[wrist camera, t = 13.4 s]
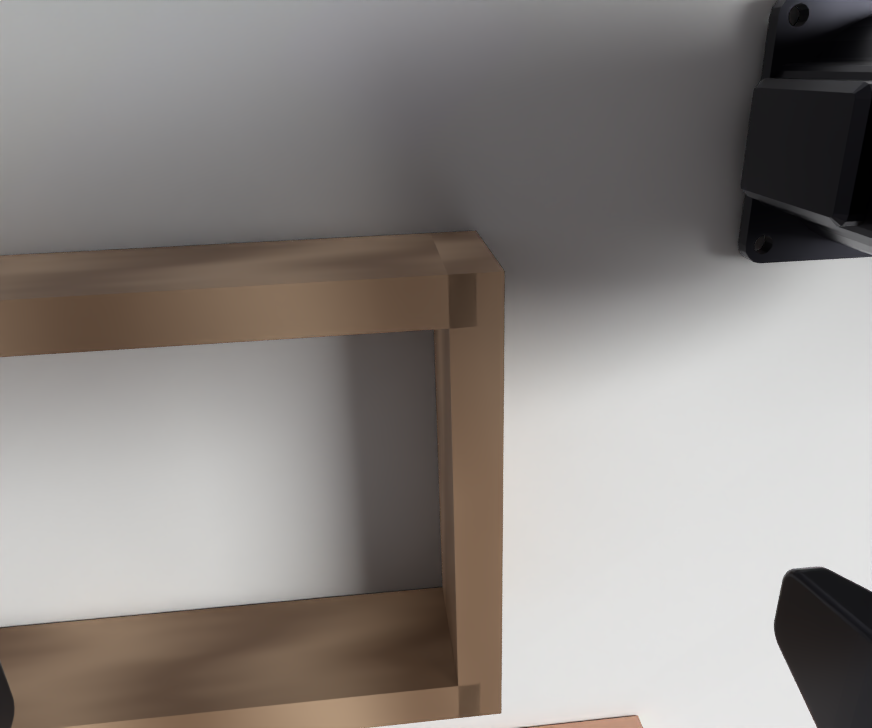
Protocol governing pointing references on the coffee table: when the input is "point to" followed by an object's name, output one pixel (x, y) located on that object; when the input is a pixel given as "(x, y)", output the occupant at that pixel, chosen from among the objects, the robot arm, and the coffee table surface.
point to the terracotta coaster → (601, 723)
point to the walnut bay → (304, 619)
